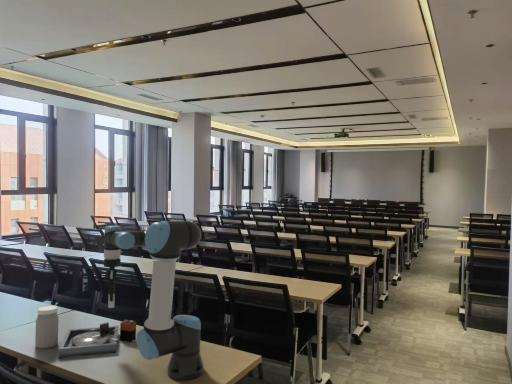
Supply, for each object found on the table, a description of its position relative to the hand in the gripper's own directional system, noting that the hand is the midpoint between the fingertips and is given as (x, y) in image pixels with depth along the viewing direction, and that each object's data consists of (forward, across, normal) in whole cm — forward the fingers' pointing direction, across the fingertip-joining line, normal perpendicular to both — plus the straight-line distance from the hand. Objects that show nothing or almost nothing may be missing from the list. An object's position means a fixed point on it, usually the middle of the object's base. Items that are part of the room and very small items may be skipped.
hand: (111, 307), depth 181 cm
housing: (+19, +6, +9) cm, 22 cm away
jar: (+19, +10, +29) cm, 36 cm away
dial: (+18, +6, +9) cm, 21 cm away
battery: (+20, +8, -8) cm, 22 cm away
